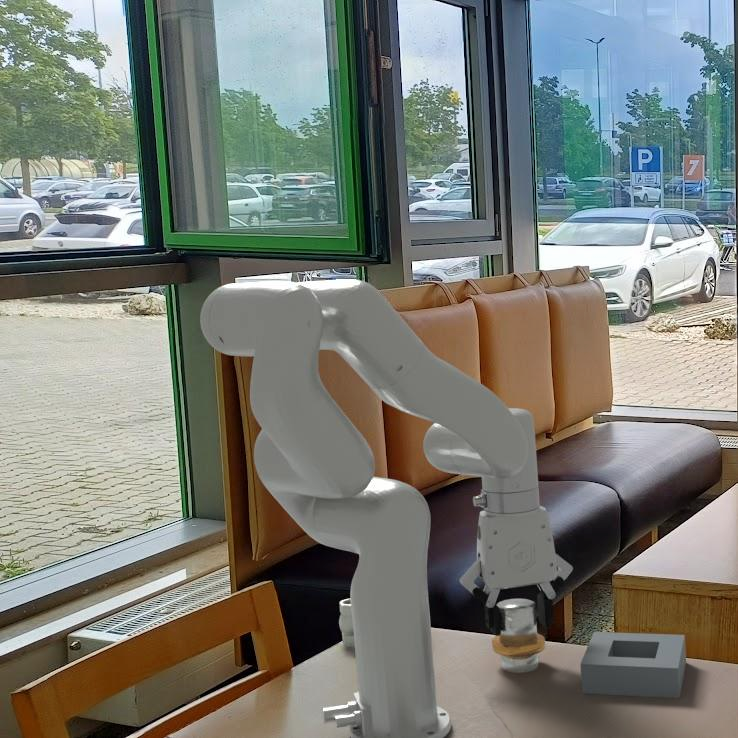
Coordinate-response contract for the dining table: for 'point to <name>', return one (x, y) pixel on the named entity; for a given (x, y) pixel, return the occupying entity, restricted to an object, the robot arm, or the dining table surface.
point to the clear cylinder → (518, 636)
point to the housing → (634, 664)
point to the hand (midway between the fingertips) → (520, 627)
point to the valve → (346, 623)
